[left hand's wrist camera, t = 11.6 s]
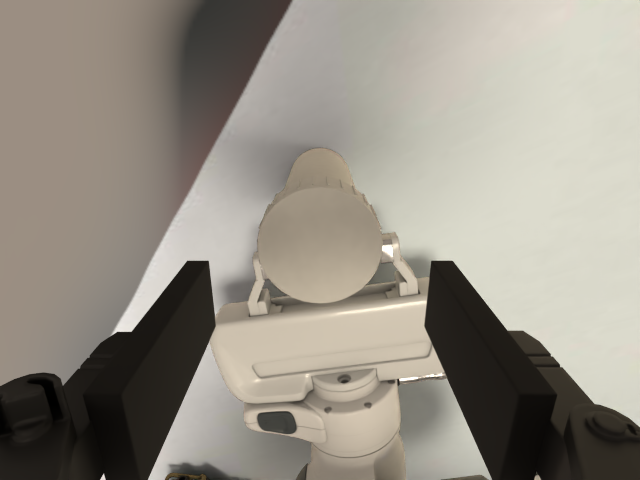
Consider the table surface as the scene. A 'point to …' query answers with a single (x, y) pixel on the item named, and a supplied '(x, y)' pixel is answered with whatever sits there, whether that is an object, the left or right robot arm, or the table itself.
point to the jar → (319, 166)
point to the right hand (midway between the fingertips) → (324, 244)
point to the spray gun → (186, 477)
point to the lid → (319, 240)
